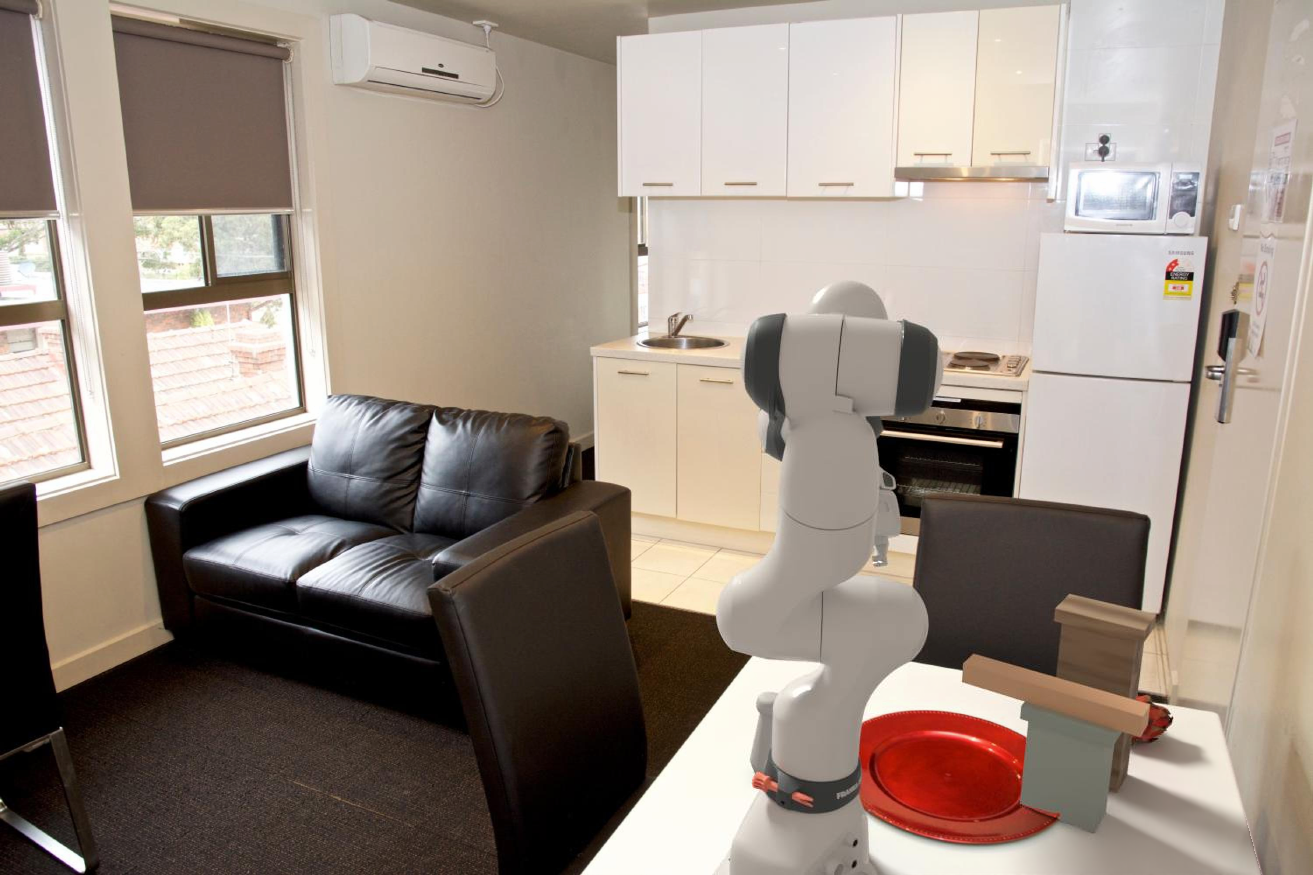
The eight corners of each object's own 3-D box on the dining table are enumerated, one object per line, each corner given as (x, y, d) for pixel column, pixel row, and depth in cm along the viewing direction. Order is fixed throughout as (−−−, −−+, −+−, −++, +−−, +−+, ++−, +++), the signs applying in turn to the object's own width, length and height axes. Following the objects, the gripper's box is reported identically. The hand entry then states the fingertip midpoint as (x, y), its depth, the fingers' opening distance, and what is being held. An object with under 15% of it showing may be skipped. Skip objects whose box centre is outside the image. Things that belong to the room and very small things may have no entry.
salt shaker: (787, 764, 146) (790, 687, 143) (789, 786, 140) (792, 706, 137) (749, 762, 146) (751, 685, 143) (749, 784, 141) (751, 704, 138)
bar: (1140, 737, 125) (1143, 716, 124) (961, 682, 139) (963, 663, 139) (1147, 724, 128) (1150, 704, 127) (971, 672, 142) (973, 653, 142)
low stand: (1100, 837, 129) (1113, 734, 125) (1011, 803, 136) (1021, 705, 133) (1114, 812, 134) (1126, 713, 131) (1027, 781, 142) (1037, 686, 138)
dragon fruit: (1086, 740, 155) (1160, 754, 155) (1110, 736, 148) (1188, 750, 147) (1086, 688, 159) (1159, 701, 158) (1109, 681, 151) (1186, 694, 150)
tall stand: (1123, 796, 138) (1144, 630, 132) (1038, 766, 145) (1055, 608, 139) (1135, 774, 143) (1156, 614, 137) (1052, 747, 151) (1069, 593, 145)
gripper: (828, 472, 141) (843, 565, 138) (900, 478, 156) (915, 562, 153) (794, 481, 145) (808, 571, 142) (867, 486, 160) (881, 568, 157)
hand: (864, 567), depth 148 cm, fingers open, 8 cm apart
